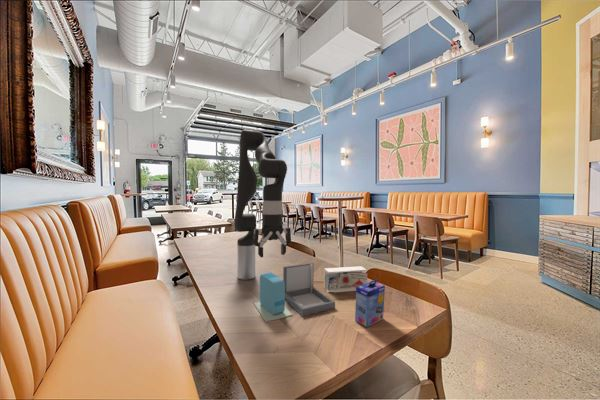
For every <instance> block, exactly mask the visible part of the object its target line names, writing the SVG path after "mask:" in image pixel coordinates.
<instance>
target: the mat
mask: <svg viewBox="0 0 600 400" xmlns="http://www.w3.org/2000/svg"><path fill="white" fill-rule="evenodd" d="M253 305H254V306H255V308H256V310H257V311H258V313H259V315H261V317H262V318H263V320H264V321H265V322H267V323H268V322H270V321H275V320H279V319H284V318H288V317H292V316H293V314H292V312H291V311H290V310H289V309H288V307H286V306H285V310H284V312H282V313H278V314H275V315H272V314H271V313H270V312H269V311H267V310H266V309H265V308H264V307H263V306H262V305H261V303H260V301H256V302H254V303H253Z"/></svg>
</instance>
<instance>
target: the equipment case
mask: <svg viewBox="0 0 600 400" xmlns="http://www.w3.org/2000/svg"><path fill="white" fill-rule="evenodd" d="M314 266H315V265H314V262H308V263H301V264H294V265H287V266H285V265H284V266H283V267H282V268H283V271H282V273H283V277H282V279H283V281H284V283H285V301H287V302H288V303H289V305H291V307H292V308H294V310H296V312H297V313H298V314H300V315H301V317H304V316H308V315H309V316H310V315H313V314H317V313H321V312H325V311H330V310H334V309H336V302H335V301H334V299H332V298H330V297H329V296H327V295H326V294H324V293H323V292H321V291H320V290H319V289H317V288H316V287H314Z"/></svg>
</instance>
